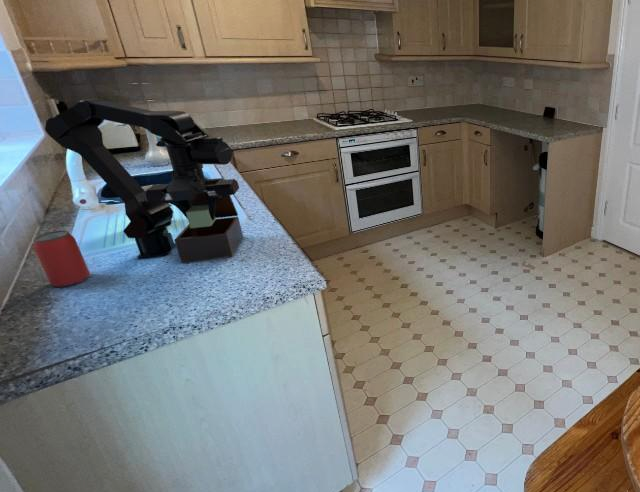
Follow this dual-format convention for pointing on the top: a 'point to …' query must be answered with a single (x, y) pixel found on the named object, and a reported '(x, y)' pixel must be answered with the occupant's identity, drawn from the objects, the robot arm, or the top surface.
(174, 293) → the top surface
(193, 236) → the storage box
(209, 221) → the block
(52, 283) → the beer can
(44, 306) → the top surface
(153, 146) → the flower vase
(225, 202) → the box lid
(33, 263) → the top surface
